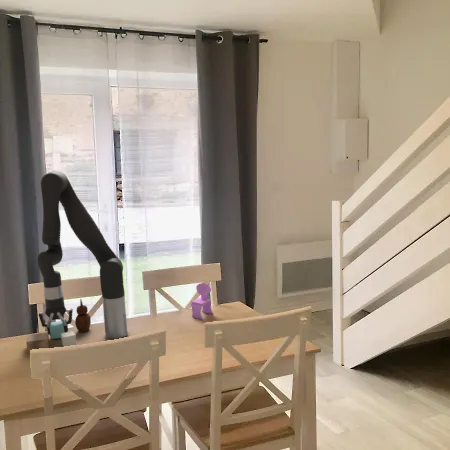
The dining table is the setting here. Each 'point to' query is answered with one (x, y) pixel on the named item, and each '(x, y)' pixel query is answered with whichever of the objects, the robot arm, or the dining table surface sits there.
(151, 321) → the dining table surface
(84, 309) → the wooden figurine
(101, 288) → the robot arm
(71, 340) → the grey cube
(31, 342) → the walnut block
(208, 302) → the toy chair
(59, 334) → the teal cube
